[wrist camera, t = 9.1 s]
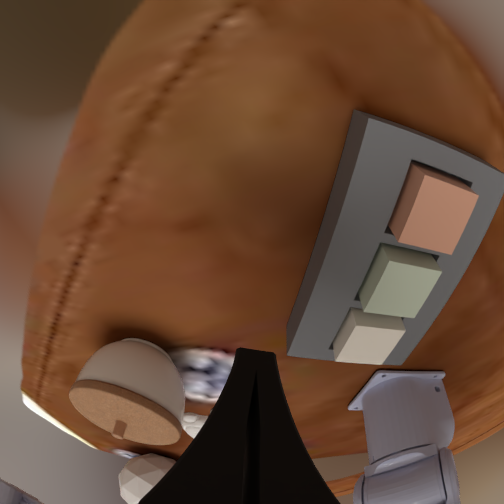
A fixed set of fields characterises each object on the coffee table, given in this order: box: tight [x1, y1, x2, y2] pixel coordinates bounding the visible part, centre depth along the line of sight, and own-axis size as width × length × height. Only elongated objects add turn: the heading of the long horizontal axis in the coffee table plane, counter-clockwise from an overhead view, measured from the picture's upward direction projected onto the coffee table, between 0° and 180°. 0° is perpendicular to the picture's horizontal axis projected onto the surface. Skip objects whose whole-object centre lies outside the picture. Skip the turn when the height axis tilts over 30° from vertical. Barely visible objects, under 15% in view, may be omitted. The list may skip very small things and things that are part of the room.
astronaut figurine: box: [182, 409, 212, 438], centre depth 35 cm, size 9×12×3 cm
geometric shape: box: [119, 453, 176, 504], centre depth 44 cm, size 14×15×15 cm
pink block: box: [388, 160, 479, 255], centre depth 15 cm, size 4×4×3 cm
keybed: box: [287, 110, 504, 365], centre depth 19 cm, size 10×17×3 cm, turn 171°
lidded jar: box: [69, 338, 185, 445], centre depth 25 cm, size 11×11×9 cm
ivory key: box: [332, 307, 406, 365], centre depth 20 cm, size 4×4×3 cm
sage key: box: [358, 242, 442, 318], centre depth 17 cm, size 4×4×3 cm
